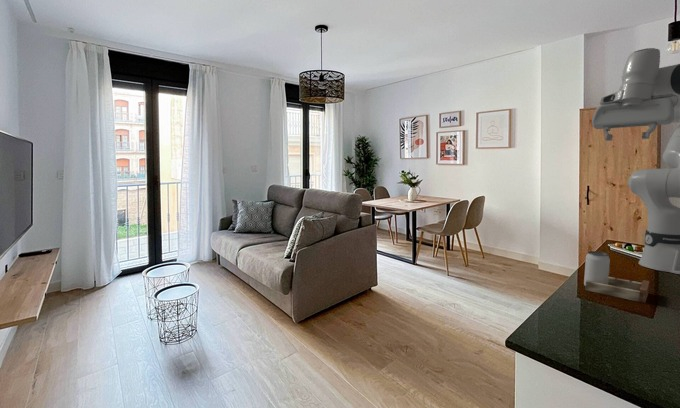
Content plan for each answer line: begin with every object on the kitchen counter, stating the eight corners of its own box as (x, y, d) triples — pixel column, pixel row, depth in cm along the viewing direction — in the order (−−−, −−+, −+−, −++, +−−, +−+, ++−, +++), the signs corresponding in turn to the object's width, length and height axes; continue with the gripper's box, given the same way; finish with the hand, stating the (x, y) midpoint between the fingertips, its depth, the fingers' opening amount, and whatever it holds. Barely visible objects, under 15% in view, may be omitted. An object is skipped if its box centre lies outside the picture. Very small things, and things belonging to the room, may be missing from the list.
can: (611, 291, 110) (614, 256, 108) (589, 290, 111) (592, 255, 110) (600, 284, 116) (603, 251, 115) (580, 283, 117) (582, 250, 116)
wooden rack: (585, 290, 111) (585, 278, 111) (591, 281, 119) (592, 270, 118) (645, 303, 101) (646, 290, 100) (648, 292, 108) (649, 281, 107)
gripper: (681, 96, 101) (672, 140, 100) (601, 106, 118) (593, 143, 117) (677, 88, 97) (667, 133, 97) (594, 99, 114) (586, 138, 114)
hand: (626, 139), depth 107 cm, fingers open, 8 cm apart
